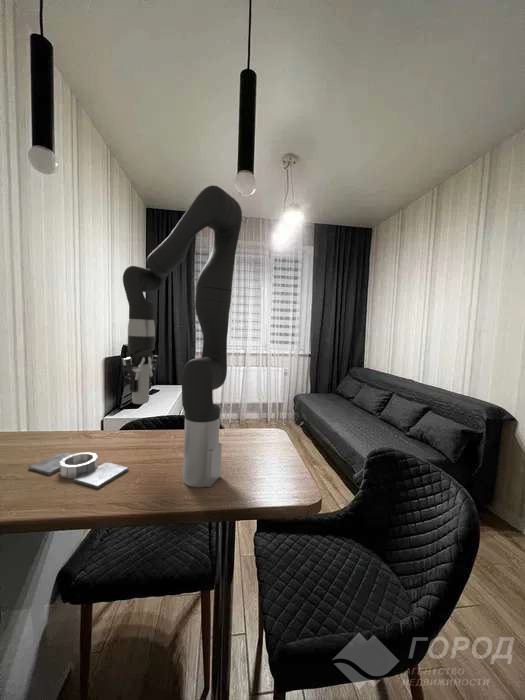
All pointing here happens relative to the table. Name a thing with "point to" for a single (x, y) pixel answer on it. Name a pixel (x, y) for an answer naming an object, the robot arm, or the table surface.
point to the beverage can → (142, 386)
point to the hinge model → (80, 468)
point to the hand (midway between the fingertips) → (140, 389)
